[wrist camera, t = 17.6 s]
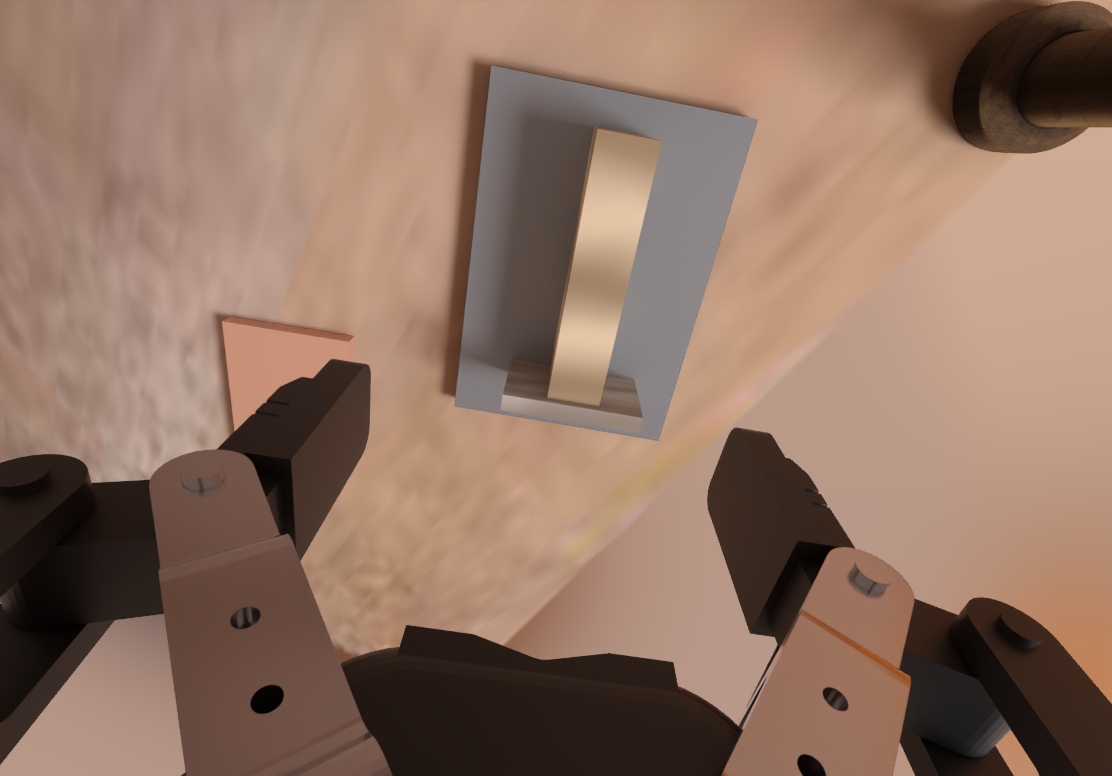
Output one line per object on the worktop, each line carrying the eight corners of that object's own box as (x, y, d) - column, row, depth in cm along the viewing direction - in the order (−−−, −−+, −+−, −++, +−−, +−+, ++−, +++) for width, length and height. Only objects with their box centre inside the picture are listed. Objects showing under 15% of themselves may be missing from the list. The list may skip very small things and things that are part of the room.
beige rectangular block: (547, 117, 29) (542, 118, 24) (695, 146, 29) (718, 151, 25) (509, 372, 35) (500, 409, 31) (630, 393, 36) (638, 432, 31)
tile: (221, 321, 35) (236, 451, 39) (348, 341, 35) (349, 469, 40) (234, 313, 36) (247, 441, 40) (356, 333, 36) (356, 457, 41)
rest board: (494, 67, 29) (491, 65, 28) (751, 119, 30) (758, 119, 28) (457, 397, 38) (454, 406, 37) (656, 431, 38) (658, 440, 37)
